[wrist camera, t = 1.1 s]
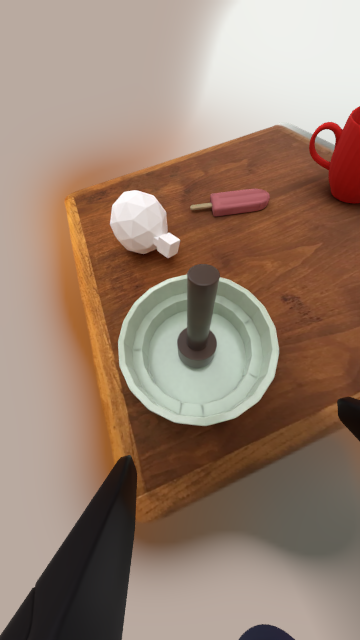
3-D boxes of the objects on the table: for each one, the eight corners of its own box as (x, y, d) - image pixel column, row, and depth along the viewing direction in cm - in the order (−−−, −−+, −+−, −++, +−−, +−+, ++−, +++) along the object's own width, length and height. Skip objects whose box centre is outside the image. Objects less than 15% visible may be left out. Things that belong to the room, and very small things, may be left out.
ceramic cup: (300, 168, 39) (329, 97, 31) (394, 181, 34) (462, 101, 26) (283, 200, 35) (312, 128, 26) (388, 222, 30) (469, 141, 21)
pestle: (220, 360, 21) (250, 286, 11) (186, 374, 20) (186, 307, 10) (204, 331, 23) (216, 248, 14) (172, 342, 23) (162, 263, 13)
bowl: (282, 401, 19) (313, 398, 14) (145, 437, 19) (124, 447, 14) (232, 291, 26) (240, 261, 21) (131, 316, 26) (114, 291, 21)
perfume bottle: (101, 244, 31) (151, 282, 28) (92, 181, 24) (157, 224, 21) (139, 230, 36) (184, 262, 33) (141, 175, 29) (199, 209, 26)
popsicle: (189, 195, 36) (265, 185, 35) (189, 203, 37) (263, 194, 36) (191, 212, 33) (273, 201, 32) (191, 220, 35) (270, 210, 34)
